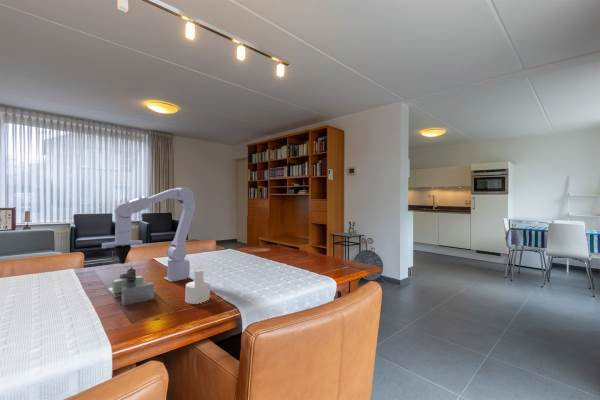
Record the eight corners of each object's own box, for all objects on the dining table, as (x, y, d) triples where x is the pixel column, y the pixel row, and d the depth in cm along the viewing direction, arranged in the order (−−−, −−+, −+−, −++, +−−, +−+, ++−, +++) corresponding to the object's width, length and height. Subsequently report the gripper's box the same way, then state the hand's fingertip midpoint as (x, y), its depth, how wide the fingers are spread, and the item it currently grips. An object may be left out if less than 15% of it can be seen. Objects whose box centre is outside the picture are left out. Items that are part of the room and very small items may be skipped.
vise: (135, 285, 120) (135, 272, 120) (153, 298, 105) (154, 283, 105) (108, 290, 113) (108, 276, 113) (123, 305, 98) (124, 289, 98)
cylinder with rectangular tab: (185, 296, 109) (186, 266, 109) (208, 294, 112) (209, 265, 112) (185, 305, 100) (186, 272, 100) (210, 302, 104) (211, 270, 104)
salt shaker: (131, 300, 103) (132, 269, 103) (117, 299, 104) (118, 267, 104) (142, 295, 109) (143, 265, 109) (129, 294, 110) (130, 264, 109)
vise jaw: (138, 284, 117) (138, 271, 117) (142, 287, 113) (143, 274, 113) (110, 290, 110) (111, 275, 110) (114, 293, 106) (115, 278, 106)
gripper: (138, 229, 125) (137, 259, 125) (100, 231, 114) (99, 264, 114) (144, 231, 120) (143, 262, 120) (104, 233, 109) (103, 267, 109)
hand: (122, 263), depth 117 cm, fingers closed
